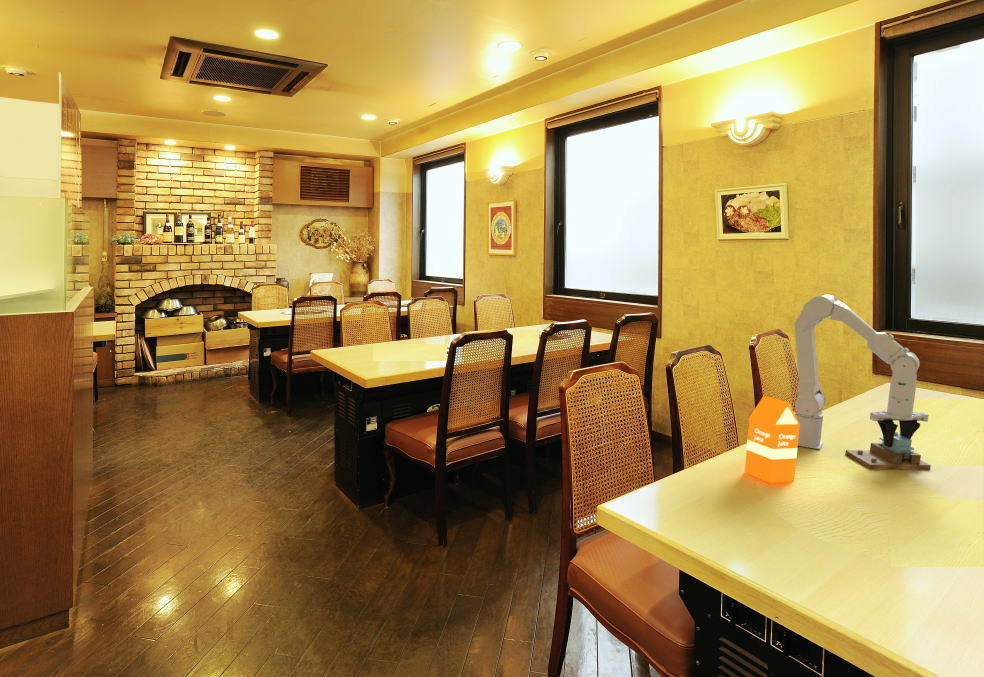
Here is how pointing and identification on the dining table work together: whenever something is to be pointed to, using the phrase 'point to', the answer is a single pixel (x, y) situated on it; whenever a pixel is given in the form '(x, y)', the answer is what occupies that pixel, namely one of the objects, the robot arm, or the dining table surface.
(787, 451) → the orange juice
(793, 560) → the dining table surface
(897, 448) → the block
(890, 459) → the board
